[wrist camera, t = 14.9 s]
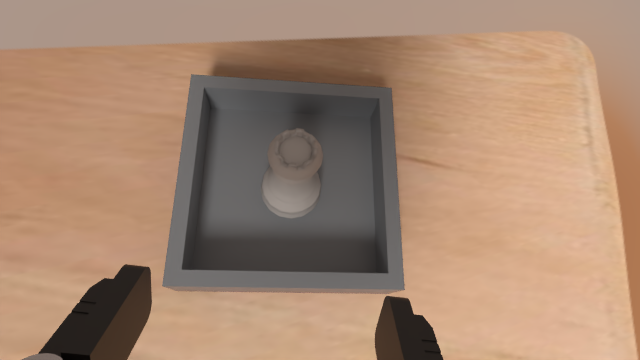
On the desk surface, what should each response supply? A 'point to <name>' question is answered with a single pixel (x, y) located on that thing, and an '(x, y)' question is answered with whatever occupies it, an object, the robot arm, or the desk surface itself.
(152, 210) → the desk surface
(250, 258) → the tray
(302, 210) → the rook chess piece
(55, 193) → the desk surface
